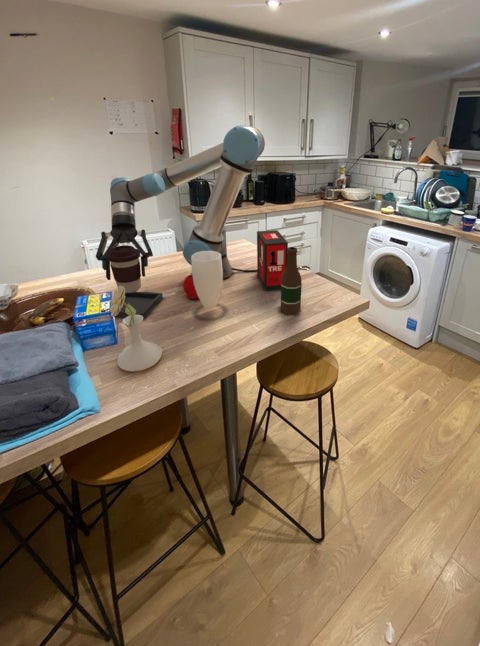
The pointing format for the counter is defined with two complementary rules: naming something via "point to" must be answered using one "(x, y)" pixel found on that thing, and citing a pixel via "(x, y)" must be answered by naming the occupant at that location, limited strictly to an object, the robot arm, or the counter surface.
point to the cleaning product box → (271, 258)
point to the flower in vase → (134, 338)
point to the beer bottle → (291, 285)
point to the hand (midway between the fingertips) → (126, 276)
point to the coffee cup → (126, 267)
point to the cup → (207, 276)
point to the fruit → (190, 287)
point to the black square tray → (140, 303)
